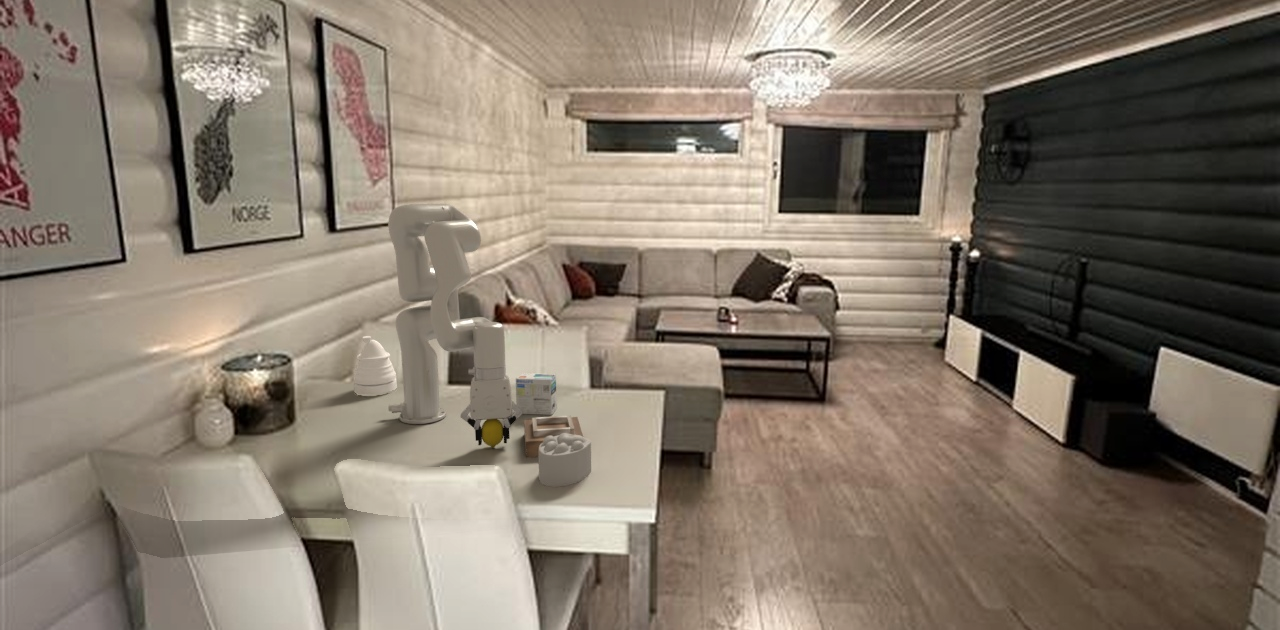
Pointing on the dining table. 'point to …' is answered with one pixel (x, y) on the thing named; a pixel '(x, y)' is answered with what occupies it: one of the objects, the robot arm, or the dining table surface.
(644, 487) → the dining table surface
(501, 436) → the lemon
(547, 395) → the light bulb box
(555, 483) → the lumpy-topped squat cylinder
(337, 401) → the dining table surface
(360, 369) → the honey pot
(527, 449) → the walnut plinth
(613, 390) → the dining table surface
